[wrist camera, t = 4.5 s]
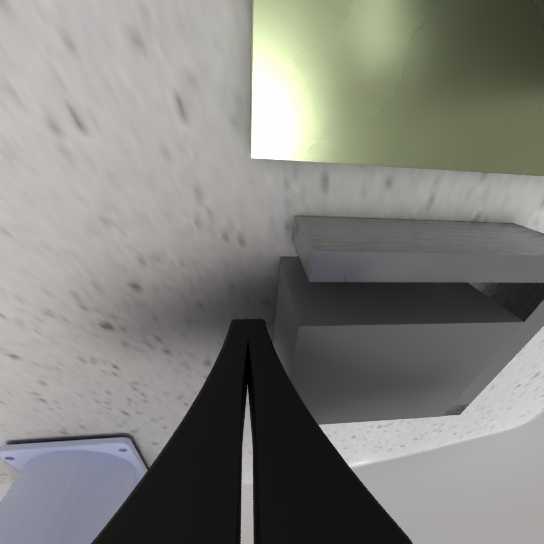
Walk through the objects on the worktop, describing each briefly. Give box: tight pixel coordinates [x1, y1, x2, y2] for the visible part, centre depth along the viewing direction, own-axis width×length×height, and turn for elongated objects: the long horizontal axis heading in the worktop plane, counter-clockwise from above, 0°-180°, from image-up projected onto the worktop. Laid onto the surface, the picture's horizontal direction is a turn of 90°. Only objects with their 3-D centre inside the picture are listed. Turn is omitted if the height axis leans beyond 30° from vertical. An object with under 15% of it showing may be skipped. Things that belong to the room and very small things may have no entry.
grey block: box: [273, 257, 524, 425], centre depth 10 cm, size 6×7×4 cm
